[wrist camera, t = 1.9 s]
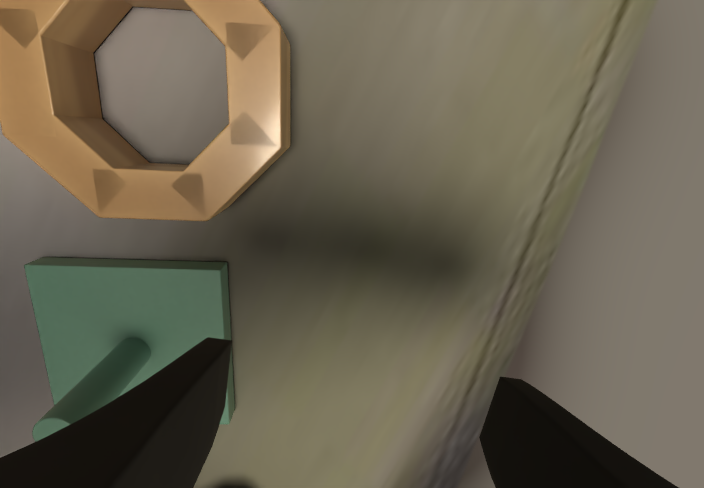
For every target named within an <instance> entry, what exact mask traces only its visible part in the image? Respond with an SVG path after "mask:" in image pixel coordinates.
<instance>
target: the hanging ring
mask: <svg viewBox="0 0 704 488" xmlns="http://www.w3.org/2000/svg"><path fill="white" fill-rule="evenodd" d="M132 6H134V7H150V8H165V9H180V10H192V11H193V12H194V13H195V14H196V15H197V16H198V17H199V18H200V19H201V20H202V21H203V23H204V24H205V25H206V26H207V27H208V28H209V29H210V30H211V31H212V32H213V34H214V35H215V36H216V37H217V38H218V39H219V40H220V41H221V42H222V43H223V44H224V46H225V47H226V68H227V90H228V112H229V124H228V125H227V126H226V127H225V128H224V129H223V130H222V131H221V132H220V133H219V134H218V136H217V137H216V138H215V139H214V140H213V141H212V142H211V143H210V144H209V145H208V146H207V147H206V148H205V149H204V150H203V151H202V152H201V153H200V154H199V155H198V156H197V157H196V158H195V159H194V160H193V161H192V162H191V163H190V164H189V165H186V164H162V163H149V162H148V161H147V160H146V159H145V158H143V157H142V156H141V155H140V154H139V153H138V152H137V151H136V150H135V149H134V148H133V147H132V146H131V145H130V144H129V143H127V142H126V141H125V140H124V139H123V138H122V137H121V136H120V135H119V134H118V133H117V132H116V131H115V130H114V129H112V128H111V127H110V126H109V125H108V124H107V123H106V122H105V121H104V120H103V119H102V113H101V105H100V98H99V91H98V84H97V76H96V69H95V62H94V55H93V52H94V51H95V50H96V49H97V48H98V47H99V45H100V44H101V43H102V42H103V41H104V40H105V38H106V37H107V36H108V35H109V34H110V32H111V31H112V30H113V29H114V28H115V27H116V25H117V24H118V23H119V22H120V21H121V19H122V18H123V17H124V16H125V15H126V14H127V12H128V11H129V10H130V9H131V8H132ZM0 123H1V127H2V132H3V135H4V136H5V137H6V138H7V139H8V140H10V141H11V142H12V143H13V144H14V145H15V146H17V147H18V148H19V149H20V150H21V151H22V152H24V153H25V154H26V155H27V156H28V157H29V158H31V159H32V160H33V161H34V162H35V163H36V164H38V165H39V166H40V167H41V168H42V169H43V170H45V171H46V172H47V173H48V174H49V175H50V176H52V177H53V178H54V179H55V180H56V181H57V182H58V183H60V184H61V185H62V186H63V187H64V188H65V189H67V190H68V191H69V192H70V193H71V194H72V195H74V196H75V197H76V198H77V199H78V200H79V201H81V202H82V203H83V204H84V205H85V206H86V207H88V208H89V209H90V210H91V211H92V212H93V213H95V214H96V215H97V216H99V217H101V218H129V219H158V220H187V221H208V220H210V219H211V218H213V217H214V216H216V215H217V214H219V213H220V212H222V211H223V210H225V209H226V208H228V207H229V206H230V205H231V204H232V203H233V202H234V201H235V200H236V199H237V198H238V197H239V196H240V195H241V194H242V193H243V192H244V191H245V190H246V189H247V188H248V187H249V186H250V185H251V184H252V183H253V182H254V181H255V180H257V179H258V178H259V177H260V176H261V175H262V174H263V173H264V172H265V171H266V170H267V169H268V168H269V167H270V166H271V165H272V164H273V163H274V162H275V161H276V160H277V159H278V158H279V157H280V156H281V155H282V154H283V153H284V152H285V151H286V150H287V149H288V148H289V147H290V43H289V41H288V39H287V37H286V35H285V33H284V31H283V29H282V27H281V25H280V23H279V22H278V21H277V20H276V18H275V17H274V16H273V15H272V14H271V13H270V11H269V10H268V9H267V8H266V7H265V6H264V4H263V3H262V2H261V1H260V0H0Z"/></svg>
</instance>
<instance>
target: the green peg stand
mask: <svg viewBox="0 0 704 488" xmlns="http://www.w3.org/2000/svg"><path fill="white" fill-rule="evenodd" d="M24 268H25V272H26V277H27V281H28V286H29V291H30V295H31V300H32V304H33V309H34V314H35V318H36V323H37V327H38V332H39V337H40V341H41V346H42V350H43V355H44V360H45V364H46V369H47V374H48V378H49V383H50V387H51V392H52V397H53V401H54V407H53V408H52V409H51V410H49V411H48V412H47V413H46V414H45V415H44V416H43V417H42V418H41V419H40V420H39V421H38V422H37V423H36V424H35V426H34V428H33V438H34V440H35V442H37V441H39V440H41V439H43V438H45V437H47V436H49V435H51V434H53V433H55V432H57V431H58V430H60V429H62V428H64V427H66V426H68V425H70V424H72V423H74V422H76V421H78V420H80V419H82V418H83V417H85V416H87V415H89V414H91V413H92V412H94V411H96V410H98V409H100V408H101V407H103V406H105V405H106V404H108V403H110V402H111V401H113V400H115V399H116V398H118V397H119V396H121V395H123V394H124V393H126V392H128V391H129V390H131V389H132V388H134V387H136V386H137V385H139V384H140V383H142V382H144V381H145V380H146V379H148V378H149V377H151V376H152V375H154V374H155V373H157V372H158V371H160V370H161V369H163V368H164V367H166V366H167V365H169V364H170V363H171V362H173V361H174V360H176V359H177V358H179V357H180V356H181V355H183V354H184V353H186V352H187V351H188V350H190V349H191V348H193V347H194V346H195V345H197V344H198V343H200V342H201V341H203V340H204V339H206V338H207V337H211V338H218V339H225V340H231V327H230V308H229V289H228V270H227V262H200V261H165V260H130V259H94V258H59V257H42V258H40V259H37V260H35V261H32V262H30V263H28V264H25V265H24ZM234 410H235V403H234V384H233V365H232V346H231V355H230V364H229V374H228V383H227V393H226V402H225V409H224V412H223V415H222V418H221V421H220V424H229V423H230V421H231V418H232V415H233V412H234Z"/></svg>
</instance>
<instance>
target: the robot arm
mask: <svg viewBox="0 0 704 488" xmlns="http://www.w3.org/2000/svg"><path fill="white" fill-rule="evenodd" d="M231 345H232V340H225V339H218V338H211V337H207V338H206V339H204V340H203V341H201V342H200V343H198V344H197V345H195V346H194V347H193V348H191V349H190V350H188V351H187V352H186V353H184V354H183V355H181V356H180V357H179V358H177V359H176V360H174V361H173V362H171V363H170V364H169V365H167V366H166V367H164V368H163V369H161V370H160V371H158V372H157V373H155V374H154V375H152V376H151V377H149V378H148V379H146V380H145V381H144V382H142V383H140V384H139V385H137V386H136V387H134V388H132V389H131V390H129V391H128V392H126V393H124V394H123V395H121V396H119V397H118V398H116V399H115V400H113V401H111V402H110V403H108V404H106V405H105V406H103V407H101V408H100V409H98V410H96V411H94V412H92V413H91V414H89V415H87V416H85V417H83V418H82V419H80V420H78V421H76V422H74V423H72V424H70V425H68V426H66V427H64V428H62V429H60V430H58V431H57V432H55V433H53V434H51V435H49V436H47V437H45V438H43V439H41V440H39V441H37V442H35V443H32V444H30V445H28V446H26V447H24V448H21V449H19V450H17V451H15V452H13V453H10V454H8V455H6V456H4V457H1V458H0V488H193V487H194V485H195V483H196V480H197V478H198V476H199V474H200V472H201V469H202V467H203V465H204V463H205V461H206V458H207V456H208V454H209V452H210V450H211V447H212V445H213V442H214V439H215V436H216V433H217V430H218V427H219V424H220V421H221V418H222V415H223V412H224V409H225V402H226V393H227V383H228V374H229V364H230V355H231ZM479 438H480V441H481V445H482V448H483V452H484V455H485V458H486V462H487V465H488V468H489V471H490V474H491V477H492V480H493V482H494V484H495V487H496V488H678V487H677V486H675V485H673V484H672V483H670V482H669V481H667V480H666V479H664V478H663V477H661V476H659V475H658V474H656V473H655V472H653V471H652V470H651V469H649V468H648V467H646V466H645V465H643V464H642V463H640V462H639V461H637V460H636V459H634V458H633V457H631V456H630V455H628V454H627V453H625V452H624V451H623V450H621V449H620V448H618V447H617V446H615V445H614V444H612V443H611V442H610V441H608V440H607V439H605V438H604V437H603V436H601V435H600V434H598V433H597V432H595V431H594V430H593V429H592V428H590V427H588V426H587V425H586V424H585V423H583V422H582V421H580V420H579V419H578V418H576V417H575V416H574V415H572V414H571V413H570V412H568V411H567V410H566V409H564V408H563V407H561V406H560V405H559V404H557V403H556V402H555V401H553V400H552V399H550V398H549V397H547V396H546V395H545V394H543V393H542V392H540V391H539V390H537V389H536V388H534V387H533V386H531V385H530V384H528V383H526V382H525V381H523V380H521V379H514V378H507V377H500V379H499V382H498V384H497V387H496V390H495V393H494V396H493V399H492V402H491V405H490V408H489V411H488V414H487V417H486V420H485V423H484V426H483V428H482V431H481V434H480V437H479Z"/></svg>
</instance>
